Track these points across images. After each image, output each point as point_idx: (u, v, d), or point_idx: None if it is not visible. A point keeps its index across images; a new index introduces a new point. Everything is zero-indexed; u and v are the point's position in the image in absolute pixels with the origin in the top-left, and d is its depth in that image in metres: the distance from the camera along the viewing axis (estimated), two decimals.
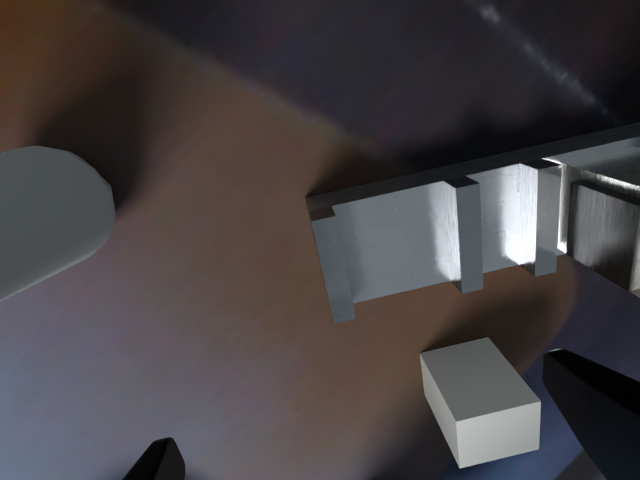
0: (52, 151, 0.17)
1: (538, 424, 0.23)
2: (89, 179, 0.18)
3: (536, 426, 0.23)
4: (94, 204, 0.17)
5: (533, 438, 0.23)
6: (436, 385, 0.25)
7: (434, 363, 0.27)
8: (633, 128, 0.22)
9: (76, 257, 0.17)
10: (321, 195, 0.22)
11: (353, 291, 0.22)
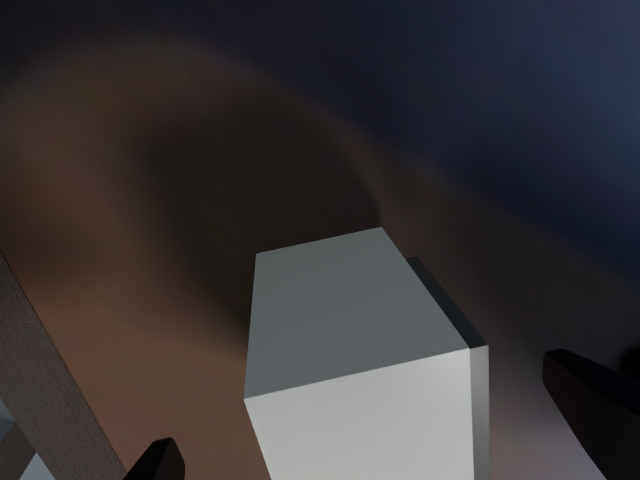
0: None
1: (350, 379, 0.07)
2: None
3: (358, 382, 0.07)
4: None
5: (411, 377, 0.07)
6: None
7: None
8: None
9: None
10: None
11: None
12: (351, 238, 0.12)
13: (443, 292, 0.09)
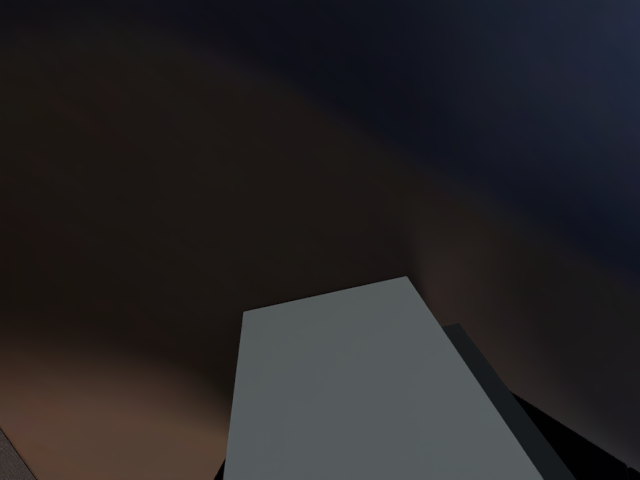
0: None
1: None
2: None
3: None
4: None
5: None
6: None
7: None
8: None
9: None
10: None
11: None
12: (368, 293, 0.09)
13: (508, 394, 0.06)
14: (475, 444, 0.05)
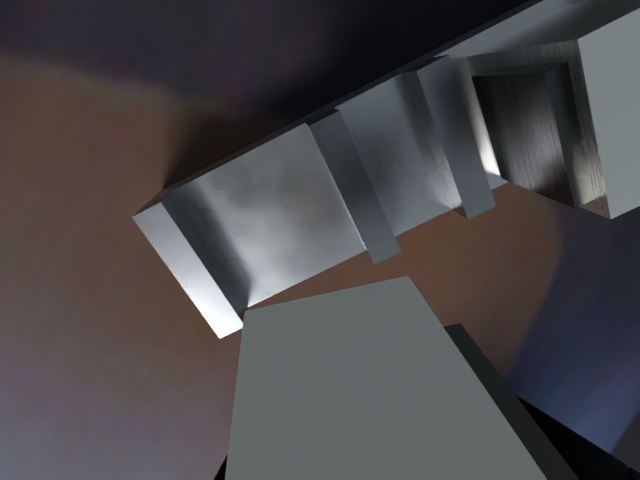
0: None
1: None
2: None
3: None
4: None
5: None
6: None
7: None
8: None
9: None
10: (178, 181, 0.17)
11: (244, 291, 0.17)
12: (369, 292, 0.09)
13: (510, 393, 0.06)
14: (478, 444, 0.05)
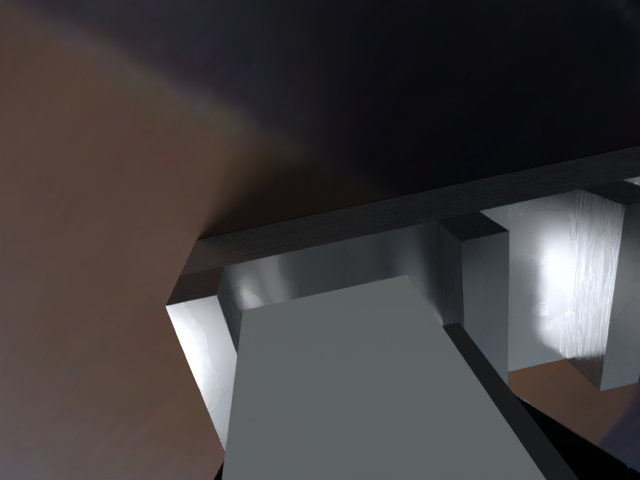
0: None
1: None
2: None
3: None
4: None
5: None
6: None
7: None
8: None
9: None
10: (224, 237, 0.12)
11: None
12: (368, 292, 0.09)
13: (508, 392, 0.06)
14: (476, 443, 0.05)
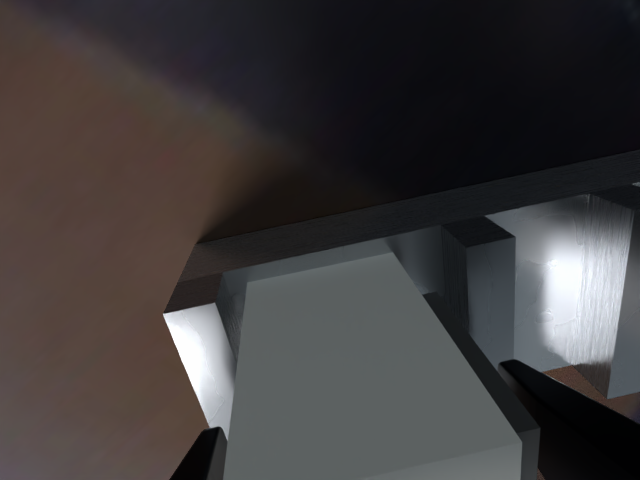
0: None
1: None
2: None
3: None
4: None
5: (444, 479, 0.05)
6: None
7: None
8: None
9: None
10: (223, 242, 0.12)
11: None
12: (358, 266, 0.10)
13: (473, 343, 0.08)
14: (439, 374, 0.06)
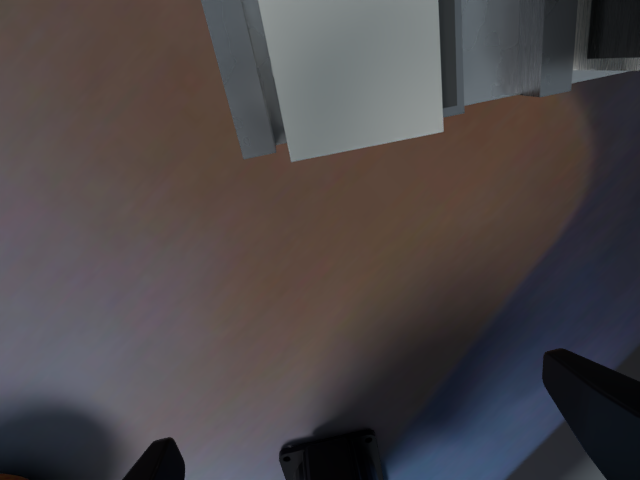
0: None
1: None
2: None
3: None
4: None
5: None
6: None
7: None
8: None
9: None
10: None
11: (278, 123, 0.15)
12: None
13: None
14: None
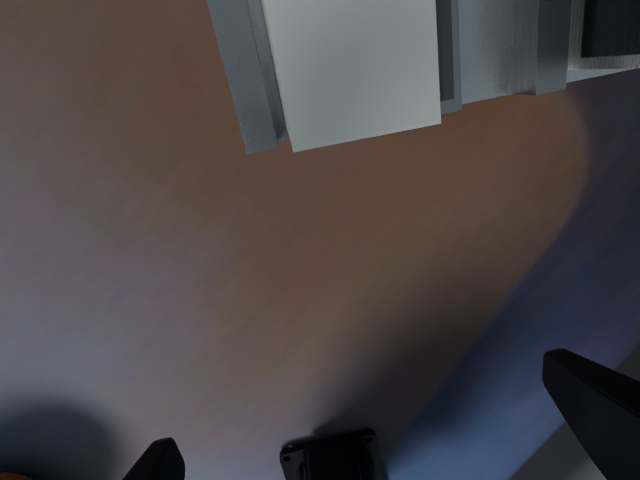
0: None
1: None
2: None
3: None
4: None
5: None
6: None
7: (284, 113, 0.14)
8: None
9: None
10: None
11: (280, 121, 0.16)
12: None
13: None
14: None
